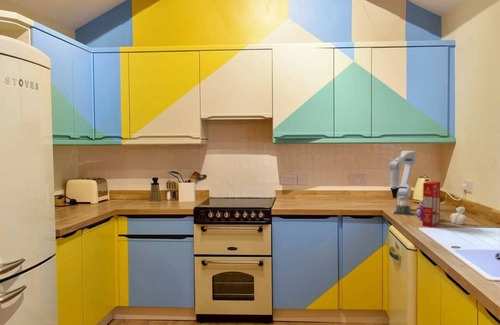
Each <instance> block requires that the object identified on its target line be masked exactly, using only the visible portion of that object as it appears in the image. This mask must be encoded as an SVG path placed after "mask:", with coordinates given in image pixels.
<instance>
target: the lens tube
mask: <svg viewBox="0 0 500 325" xmlns="http://www.w3.org/2000/svg"><path fill="white" fill-rule="evenodd" d="M395 207H396V209H395V210H394V212H393V215H403V216H404V215H406V216H411V215H412V214H413V210H411V205H409V204H408V205H407V206H400V205H396V206H395Z"/></svg>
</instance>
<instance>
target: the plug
mask: <svg viewBox="0 0 500 325" xmlns="http://www.w3.org/2000/svg"><path fill="white" fill-rule="evenodd" d="M400 206H407V201H406V200H400Z"/></svg>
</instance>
